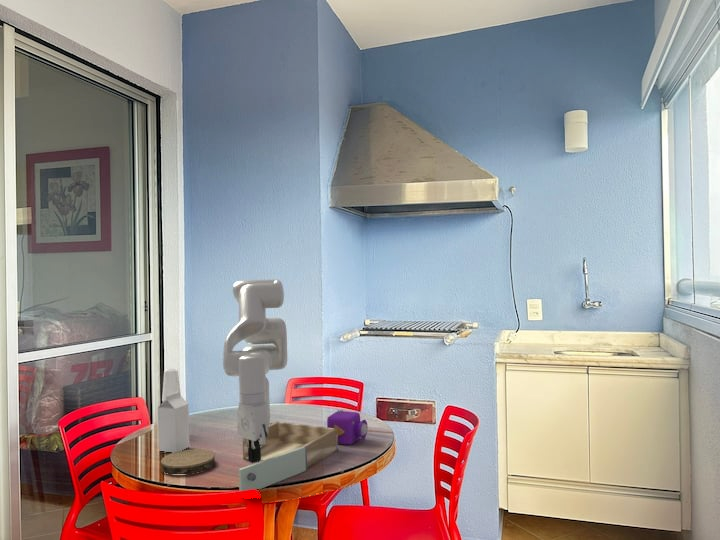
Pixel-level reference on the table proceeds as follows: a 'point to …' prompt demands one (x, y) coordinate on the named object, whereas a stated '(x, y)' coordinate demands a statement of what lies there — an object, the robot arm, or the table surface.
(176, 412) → the milk carton
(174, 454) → the brown round disc
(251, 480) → the door
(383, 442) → the table surface
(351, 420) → the toy camera
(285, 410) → the table surface
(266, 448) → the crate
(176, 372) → the grey tall block
